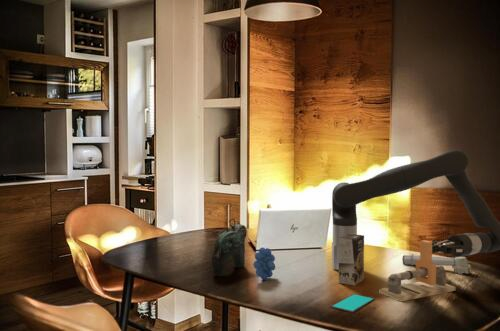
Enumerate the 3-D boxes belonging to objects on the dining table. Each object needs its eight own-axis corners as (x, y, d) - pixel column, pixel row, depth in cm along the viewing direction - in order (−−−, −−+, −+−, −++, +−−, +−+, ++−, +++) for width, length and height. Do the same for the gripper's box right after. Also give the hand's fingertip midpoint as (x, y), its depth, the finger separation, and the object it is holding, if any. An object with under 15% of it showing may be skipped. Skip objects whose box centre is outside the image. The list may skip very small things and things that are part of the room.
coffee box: (355, 286, 172) (356, 239, 171) (337, 283, 175) (338, 237, 174) (364, 279, 180) (364, 235, 179) (347, 277, 183) (347, 233, 182)
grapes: (264, 285, 172) (264, 251, 172) (249, 282, 176) (249, 248, 176) (283, 278, 181) (283, 245, 181) (268, 275, 186) (268, 243, 185)
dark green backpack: (237, 264, 202) (236, 215, 201) (250, 266, 199) (250, 216, 197) (208, 276, 185) (208, 222, 184) (223, 278, 181) (223, 223, 180)
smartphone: (330, 306, 150) (353, 294, 162) (330, 309, 150) (353, 296, 162) (353, 311, 145) (375, 298, 157) (353, 314, 145) (374, 301, 157)
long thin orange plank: (431, 285, 163) (432, 243, 163) (415, 280, 169) (416, 239, 169) (435, 284, 164) (436, 242, 164) (420, 279, 170) (420, 239, 170)
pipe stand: (401, 301, 155) (401, 277, 155) (379, 292, 164) (379, 270, 164) (455, 290, 166) (455, 268, 166) (432, 282, 175) (432, 261, 175)
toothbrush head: (406, 253, 204) (470, 253, 188) (408, 269, 204) (472, 271, 188) (401, 255, 200) (466, 256, 184) (403, 272, 199) (469, 274, 184)
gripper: (449, 230, 180) (413, 235, 172) (481, 237, 169) (444, 242, 161) (448, 251, 181) (413, 256, 173) (480, 259, 169) (443, 265, 161)
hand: (428, 249), depth 167 cm, fingers closed
